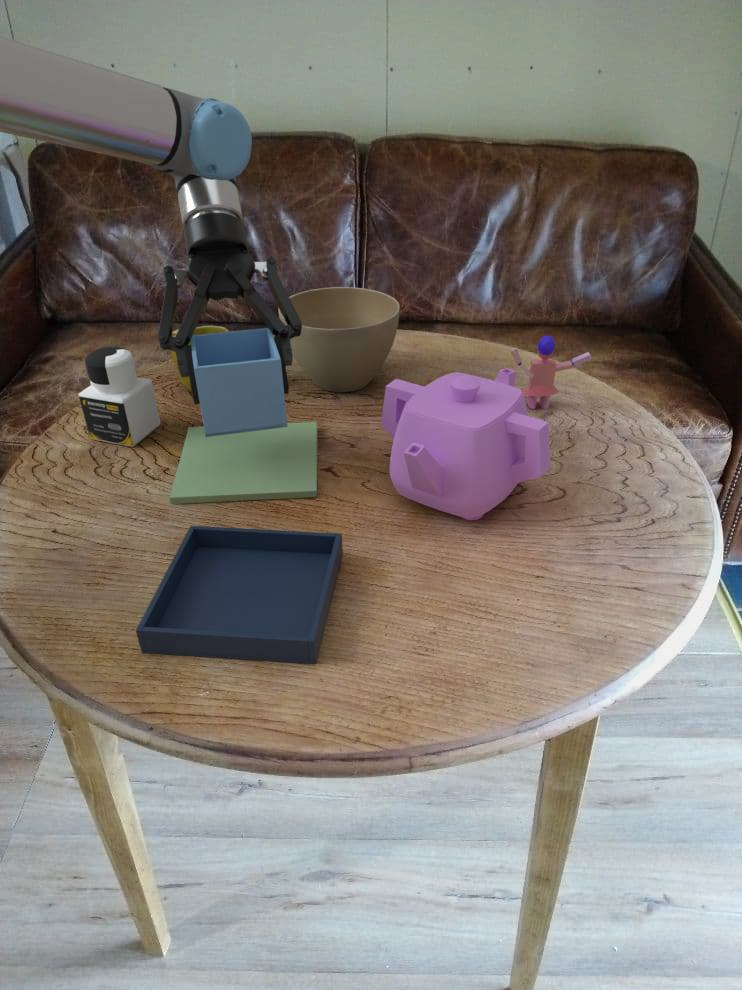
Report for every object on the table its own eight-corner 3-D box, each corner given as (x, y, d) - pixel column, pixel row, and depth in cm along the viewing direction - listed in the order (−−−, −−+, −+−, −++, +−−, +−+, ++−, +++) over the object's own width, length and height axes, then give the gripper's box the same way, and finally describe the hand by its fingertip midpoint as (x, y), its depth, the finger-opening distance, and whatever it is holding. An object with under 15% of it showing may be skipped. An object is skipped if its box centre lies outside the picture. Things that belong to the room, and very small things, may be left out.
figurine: (587, 407, 119) (597, 336, 112) (509, 414, 117) (515, 342, 110) (579, 397, 121) (589, 327, 115) (503, 403, 120) (509, 332, 113)
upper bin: (200, 400, 104) (189, 335, 99) (277, 391, 106) (270, 327, 101) (205, 437, 97) (193, 368, 91) (287, 427, 99) (280, 359, 93)
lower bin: (141, 652, 77) (135, 630, 76) (194, 546, 91) (190, 525, 89) (316, 664, 76) (314, 641, 74) (343, 554, 90) (341, 533, 88)
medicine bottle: (89, 440, 111) (67, 359, 104) (119, 417, 116) (100, 338, 109) (133, 448, 109) (114, 366, 102) (162, 424, 114) (145, 345, 107)
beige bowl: (411, 400, 120) (412, 323, 113) (292, 413, 117) (285, 334, 110) (386, 353, 135) (385, 281, 127) (279, 363, 131) (272, 290, 124)
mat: (170, 504, 98) (169, 497, 97) (189, 433, 112) (188, 426, 112) (317, 497, 99) (316, 490, 99) (317, 427, 114) (317, 421, 113)
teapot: (406, 544, 91) (406, 428, 82) (369, 464, 105) (367, 358, 96) (560, 520, 95) (576, 406, 86) (505, 446, 110) (515, 342, 100)
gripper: (301, 235, 105) (330, 394, 103) (124, 248, 101) (149, 416, 98) (304, 203, 98) (335, 374, 95) (114, 216, 94) (141, 396, 91)
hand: (241, 395), depth 97 cm, fingers closed on upper bin, 10 cm apart
